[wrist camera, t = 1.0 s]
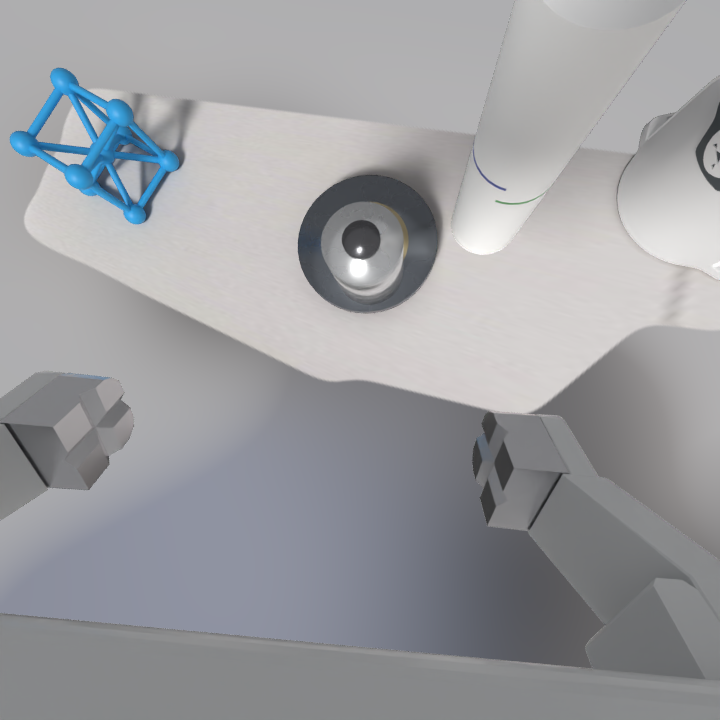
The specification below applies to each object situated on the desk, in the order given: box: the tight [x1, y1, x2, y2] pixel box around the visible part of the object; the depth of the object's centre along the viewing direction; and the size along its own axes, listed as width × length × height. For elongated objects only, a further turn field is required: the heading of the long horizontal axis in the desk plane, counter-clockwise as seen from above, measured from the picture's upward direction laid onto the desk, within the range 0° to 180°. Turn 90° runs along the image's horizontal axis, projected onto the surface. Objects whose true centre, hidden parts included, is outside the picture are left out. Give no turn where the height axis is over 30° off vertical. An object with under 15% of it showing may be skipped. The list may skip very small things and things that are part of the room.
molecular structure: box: [10, 68, 179, 224], centre depth 41 cm, size 10×10×10 cm
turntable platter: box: [298, 175, 437, 313], centre depth 39 cm, size 15×15×1 cm
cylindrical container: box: [451, 0, 686, 255], centre depth 28 cm, size 7×7×25 cm
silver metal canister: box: [321, 202, 404, 305], centre depth 34 cm, size 7×7×9 cm
